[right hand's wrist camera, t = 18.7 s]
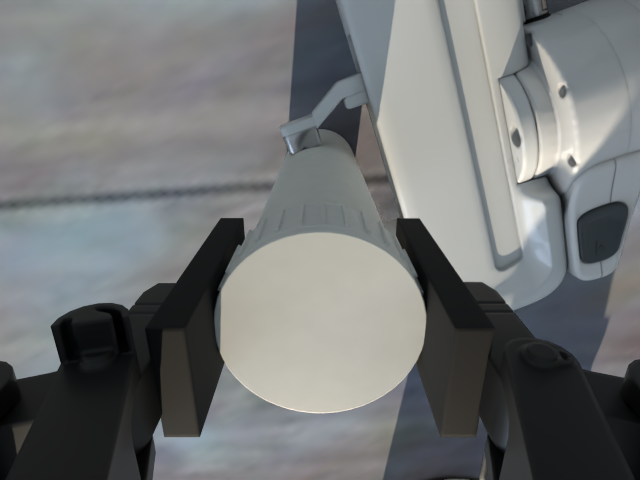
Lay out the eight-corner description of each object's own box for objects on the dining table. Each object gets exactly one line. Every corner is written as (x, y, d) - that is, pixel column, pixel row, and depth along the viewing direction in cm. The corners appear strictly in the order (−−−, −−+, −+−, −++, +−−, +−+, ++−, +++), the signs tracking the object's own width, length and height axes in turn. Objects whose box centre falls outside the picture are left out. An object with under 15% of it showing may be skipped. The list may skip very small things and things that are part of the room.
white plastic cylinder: (271, 167, 29) (195, 316, 11) (316, 113, 28) (310, 185, 10) (323, 210, 30) (328, 407, 12) (368, 160, 29) (447, 300, 11)
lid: (448, 297, 12) (473, 340, 10) (310, 391, 14) (309, 446, 12) (332, 159, 11) (334, 178, 9) (190, 279, 12) (163, 320, 10)
